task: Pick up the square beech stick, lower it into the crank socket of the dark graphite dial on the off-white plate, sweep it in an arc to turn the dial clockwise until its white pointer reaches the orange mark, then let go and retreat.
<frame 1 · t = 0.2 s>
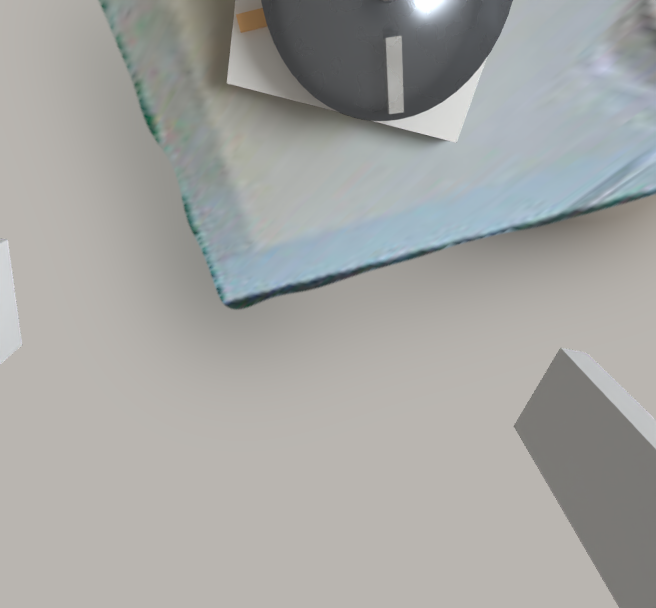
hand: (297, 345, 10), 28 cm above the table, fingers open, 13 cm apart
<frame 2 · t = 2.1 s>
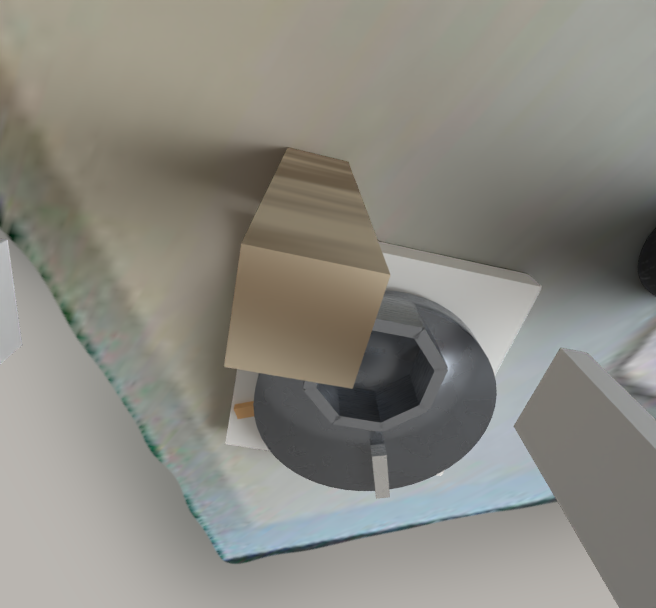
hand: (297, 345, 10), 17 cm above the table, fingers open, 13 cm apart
stick: (311, 185, 24), on the table
plate: (364, 357, 31), on the table
dial: (376, 413, 27), point 5 cm above the table, hinge at 0.0°
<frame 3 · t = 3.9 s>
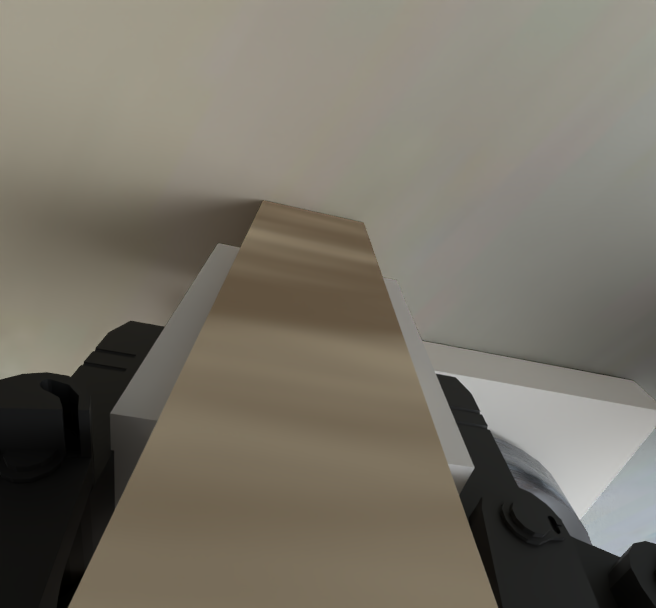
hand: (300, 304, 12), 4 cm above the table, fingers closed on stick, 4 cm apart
stick: (303, 258, 15), on the table, touching gripper
plate: (382, 487, 21), on the table
dial: (405, 604, 17), point 5 cm above the table, hinge at 0.0°
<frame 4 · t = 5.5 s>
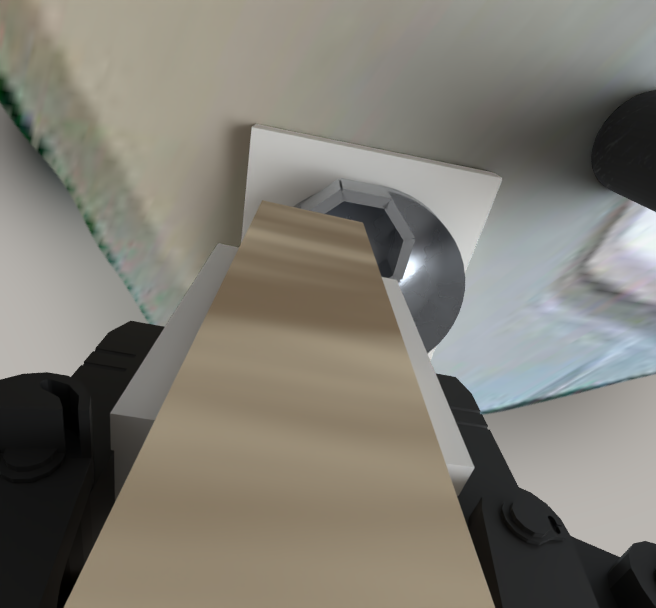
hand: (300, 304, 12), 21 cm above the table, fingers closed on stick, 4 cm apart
travel mug: (638, 143, 30), on the table
stick: (303, 258, 15), point 18 cm above the table, touching gripper
plate: (351, 259, 34), on the table
dial: (359, 297, 30), point 5 cm above the table, hinge at 0.0°
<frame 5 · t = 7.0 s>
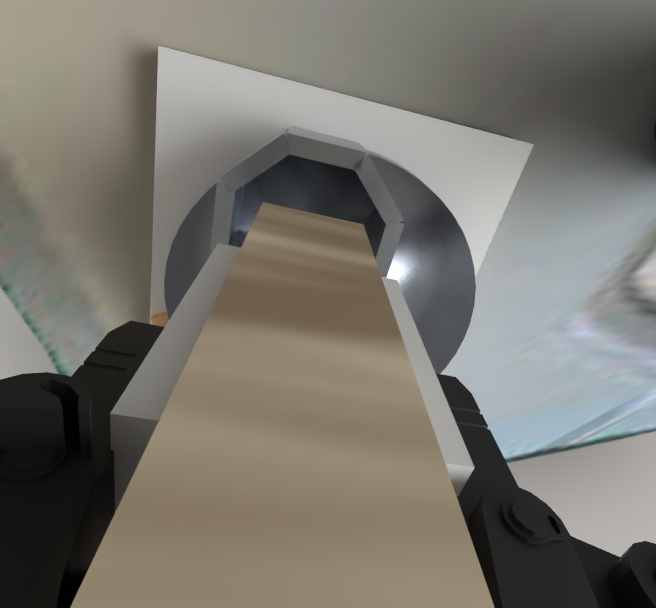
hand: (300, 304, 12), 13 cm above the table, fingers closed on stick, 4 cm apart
stick: (303, 260, 15), point 9 cm above the table, touching gripper
plate: (316, 258, 25), on the table
dial: (322, 311, 21), point 5 cm above the table, hinge at 0.0°
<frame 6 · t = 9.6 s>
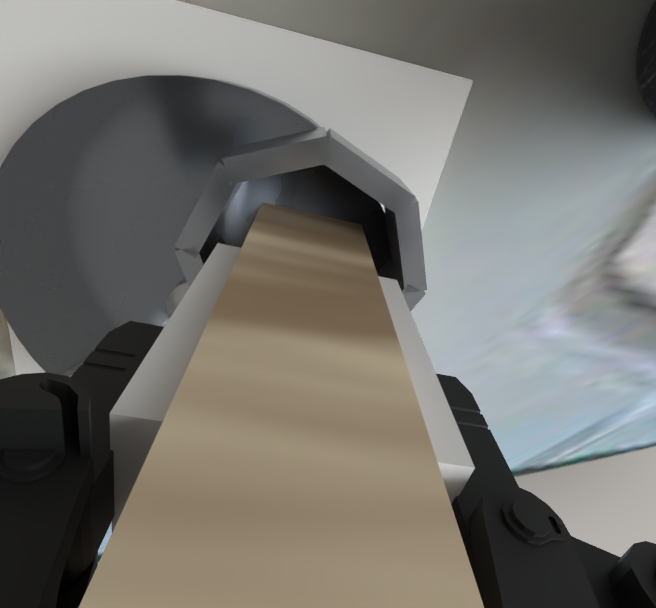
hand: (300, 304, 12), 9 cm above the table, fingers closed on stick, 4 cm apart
stick: (302, 259, 15), point 5 cm above the table, touching dial, gripper
plate: (217, 239, 20), on the table
dial: (204, 307, 16), point 5 cm above the table, hinge at 66.0°, touching stick
when the fingers open (9 cm above the table, at t = 10.4 s): stick stays where it is, resting on dial.
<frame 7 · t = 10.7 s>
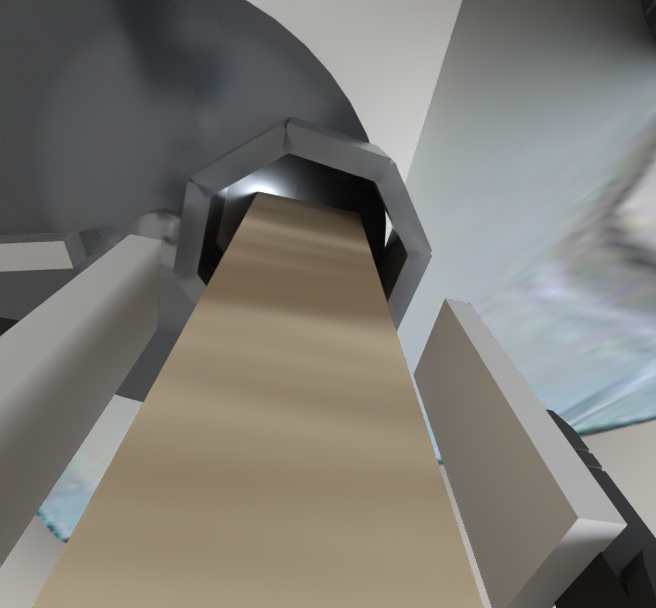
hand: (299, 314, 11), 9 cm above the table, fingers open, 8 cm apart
stick: (299, 249, 15), point 5 cm above the table, touching dial
plate: (190, 184, 18), on the table
dial: (170, 246, 15), point 5 cm above the table, hinge at 94.7°, touching stick
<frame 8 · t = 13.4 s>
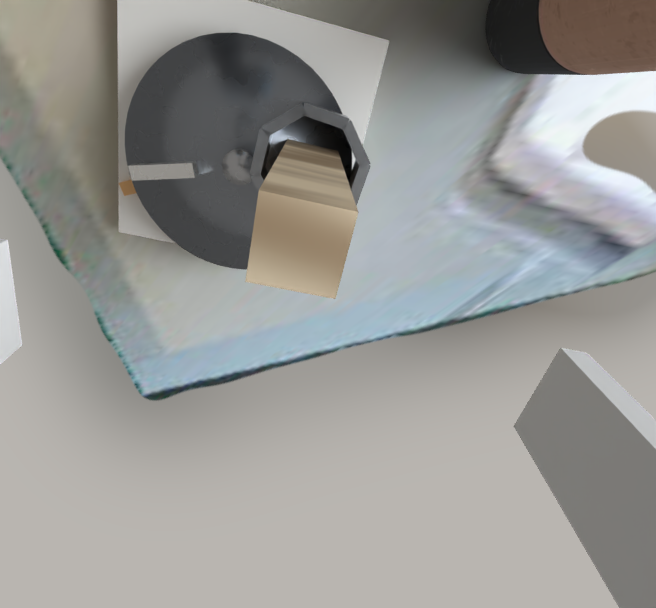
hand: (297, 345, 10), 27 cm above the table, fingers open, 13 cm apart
travel mug: (533, 17, 29), on the table
stick: (307, 170, 29), point 5 cm above the table, touching dial
plate: (245, 142, 33), on the table
dial: (242, 168, 29), point 5 cm above the table, hinge at 94.7°, touching stick
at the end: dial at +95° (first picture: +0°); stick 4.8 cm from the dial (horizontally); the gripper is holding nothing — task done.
